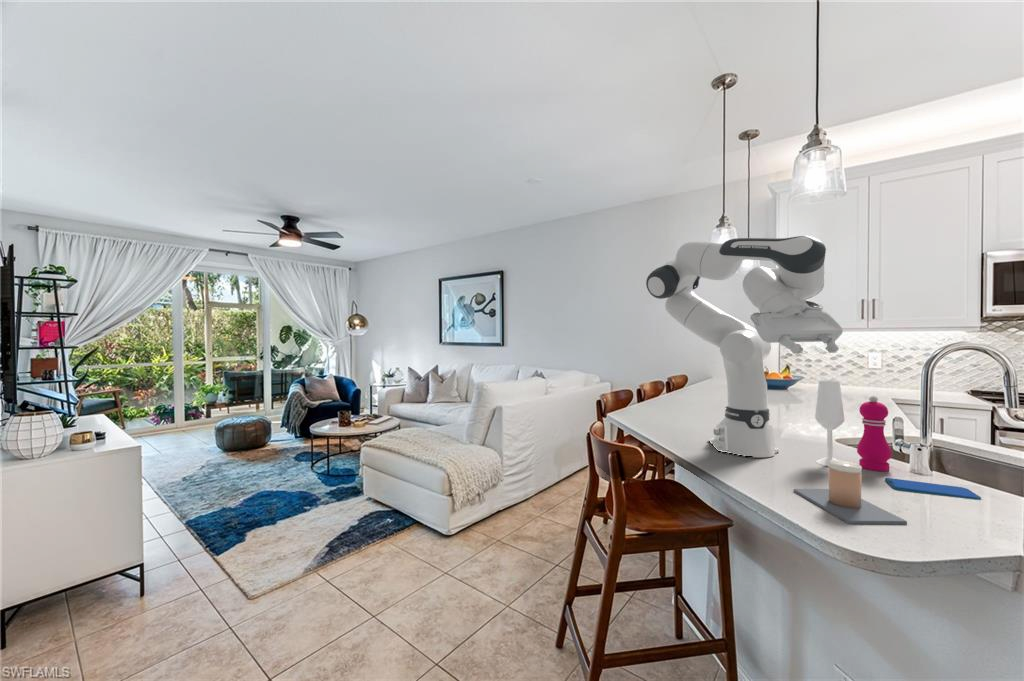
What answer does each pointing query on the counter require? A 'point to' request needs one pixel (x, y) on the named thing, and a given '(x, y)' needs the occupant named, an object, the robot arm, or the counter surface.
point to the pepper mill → (874, 437)
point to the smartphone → (931, 488)
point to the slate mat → (850, 509)
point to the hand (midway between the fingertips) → (816, 351)
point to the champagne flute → (829, 412)
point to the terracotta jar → (845, 484)
